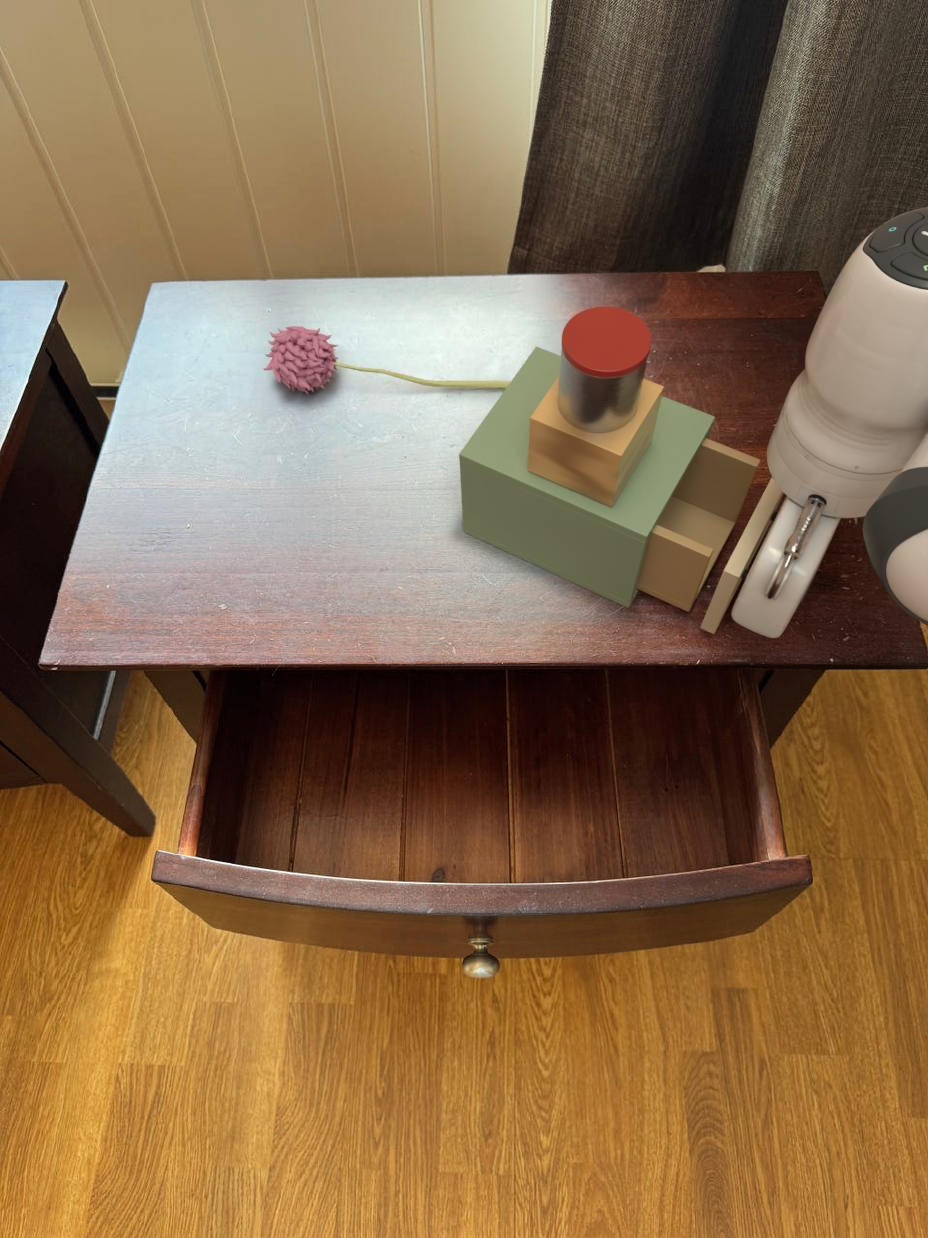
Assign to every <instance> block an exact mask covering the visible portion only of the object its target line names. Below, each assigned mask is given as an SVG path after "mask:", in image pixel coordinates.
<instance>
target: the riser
mask: <svg viewBox="0 0 928 1238" xmlns="http://www.w3.org/2000/svg"><path fill="white" fill-rule="evenodd" d="M558 386H559V376H558V378H557V379H556V381H555V382H554V383H553V385H552V386H551V388H550V389H549V391H548V392H547V394H546V395H545V397H544V398H543V399H542V401H541V402H540V404H539V405H538V407H537V408H536V410H535V411H534V413H533V414H532V415H531V417H530V429H529V450H528V471H530V472H532V473H534V474H537V475H539V476H541V477H543V478H546V479H548V480H550V481H553V482H555V483H557V484H560V485H562V486H564V487H566V488H569V489H571V490H573V491H576V492H578V493H580V494H583V495H585V496H587V497H589V498H592V499H594V500H596V501H599V502H601V503H603V504H606V505H608V506H610V507H612V506H613V505H614V503H615V502H616V500H617V498H618V497H619V495H620V493H621V492H622V490H623V488H624V487H625V485H626V483H627V482H628V480H629V478H630V477H631V475H632V473H633V472H634V470H635V468H636V467H637V465H638V463H639V462H640V460H641V458H642V457H643V455H644V453H645V452H646V450H647V448H648V447H649V445H650V443H651V442H652V438H653V434H654V429H655V425H656V421H657V416H658V412H659V407H660V403H661V399H662V396H663V394H664V391H665V390H664V389H665V386H664V385H661V384H659V383H656V382H654V381H652V380H649V379H646V378H644V379H643V384H642V389H641V394H640V399H639V404H638V409H637V412H636V414H635V416H634V417H633V419H632V420H631V421H630V422H629V423H628V424H626V425H625V426H624V427H622V428H620V429H618V430H615V431H611V432H606V433H593V432H587V431H584V430H581V429H578V428H576V427H575V426H573V425H571V424H570V423H569V422H568V421H567V420H566V419H565V418H564V417H563V416H562V414H561V412H560V411H559V408H558V403H557V398H558Z"/></svg>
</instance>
